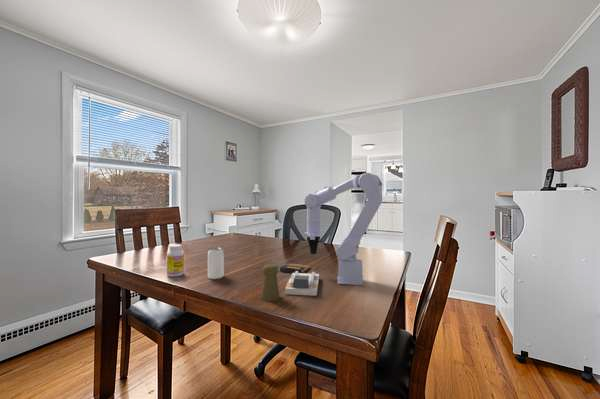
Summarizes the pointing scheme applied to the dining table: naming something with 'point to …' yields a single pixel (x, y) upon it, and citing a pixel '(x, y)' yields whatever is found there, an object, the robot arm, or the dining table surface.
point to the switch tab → (301, 281)
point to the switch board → (303, 291)
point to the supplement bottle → (175, 261)
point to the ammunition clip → (294, 268)
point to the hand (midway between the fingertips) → (313, 253)
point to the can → (215, 263)
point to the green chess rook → (270, 283)
